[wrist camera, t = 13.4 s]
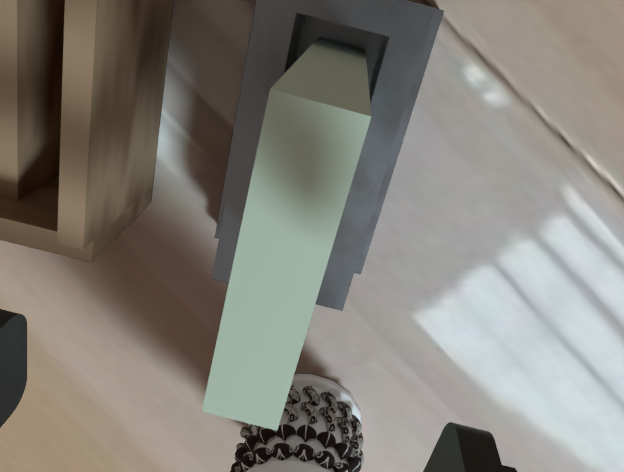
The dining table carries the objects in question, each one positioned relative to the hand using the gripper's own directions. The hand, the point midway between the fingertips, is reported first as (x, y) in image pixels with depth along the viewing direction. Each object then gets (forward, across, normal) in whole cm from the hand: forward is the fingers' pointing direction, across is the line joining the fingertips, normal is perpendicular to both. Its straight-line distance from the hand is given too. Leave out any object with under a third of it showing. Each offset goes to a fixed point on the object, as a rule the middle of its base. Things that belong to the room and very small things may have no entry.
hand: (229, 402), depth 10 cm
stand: (+22, 0, 0) cm, 22 cm away
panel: (+21, 0, 0) cm, 21 cm away
